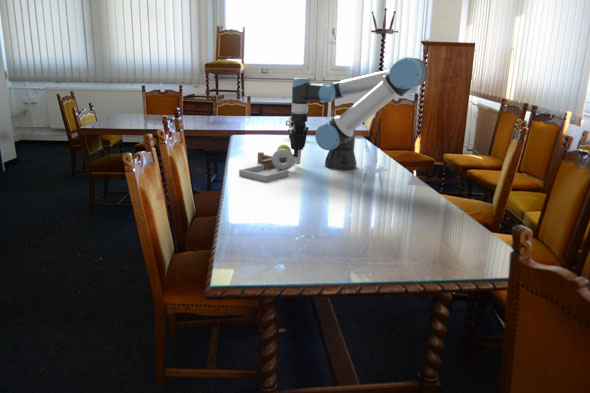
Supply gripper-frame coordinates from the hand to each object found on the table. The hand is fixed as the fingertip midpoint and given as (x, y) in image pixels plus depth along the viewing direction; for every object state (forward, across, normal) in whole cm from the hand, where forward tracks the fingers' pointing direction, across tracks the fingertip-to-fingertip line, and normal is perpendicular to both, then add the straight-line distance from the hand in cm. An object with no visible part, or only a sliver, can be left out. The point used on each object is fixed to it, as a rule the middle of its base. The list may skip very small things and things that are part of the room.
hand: (297, 163), depth 225 cm
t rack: (+2, +5, -13) cm, 14 cm away
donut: (+2, +11, 0) cm, 11 cm away
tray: (+2, +24, +1) cm, 25 cm away
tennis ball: (+2, -10, -16) cm, 19 cm away
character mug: (+2, -62, -49) cm, 79 cm away
